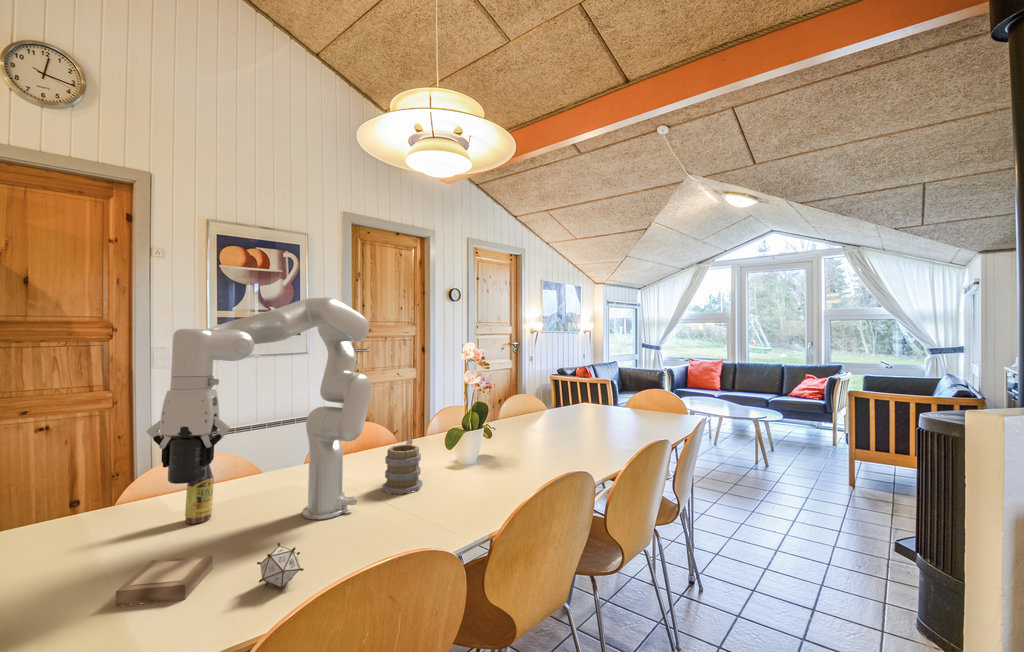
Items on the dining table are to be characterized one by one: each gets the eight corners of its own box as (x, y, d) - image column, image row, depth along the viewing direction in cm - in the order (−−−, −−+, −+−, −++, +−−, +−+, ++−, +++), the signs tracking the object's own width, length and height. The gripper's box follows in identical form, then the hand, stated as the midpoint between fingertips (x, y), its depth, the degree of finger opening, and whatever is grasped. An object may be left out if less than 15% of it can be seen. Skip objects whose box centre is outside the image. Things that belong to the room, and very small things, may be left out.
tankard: (416, 494, 148) (417, 449, 148) (379, 494, 148) (380, 449, 148) (428, 476, 168) (429, 436, 168) (395, 475, 168) (396, 436, 168)
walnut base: (212, 568, 100) (213, 554, 100) (184, 599, 88) (185, 583, 88) (152, 574, 97) (152, 559, 97) (115, 606, 86) (115, 590, 86)
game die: (274, 600, 94) (271, 551, 100) (312, 584, 95) (308, 536, 100) (248, 600, 87) (246, 547, 92) (290, 583, 87) (286, 532, 93)
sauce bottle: (197, 526, 122) (199, 454, 123) (179, 524, 123) (181, 452, 124) (217, 516, 128) (219, 448, 129) (200, 514, 130) (202, 447, 130)
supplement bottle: (202, 473, 102) (205, 420, 102) (208, 479, 97) (211, 425, 97) (165, 478, 97) (168, 424, 97) (169, 486, 92) (172, 428, 92)
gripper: (241, 382, 103) (238, 459, 102) (157, 382, 100) (153, 462, 99) (227, 385, 96) (223, 468, 95) (136, 385, 92) (131, 471, 91)
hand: (187, 464), depth 97 cm, fingers closed on supplement bottle, 6 cm apart
